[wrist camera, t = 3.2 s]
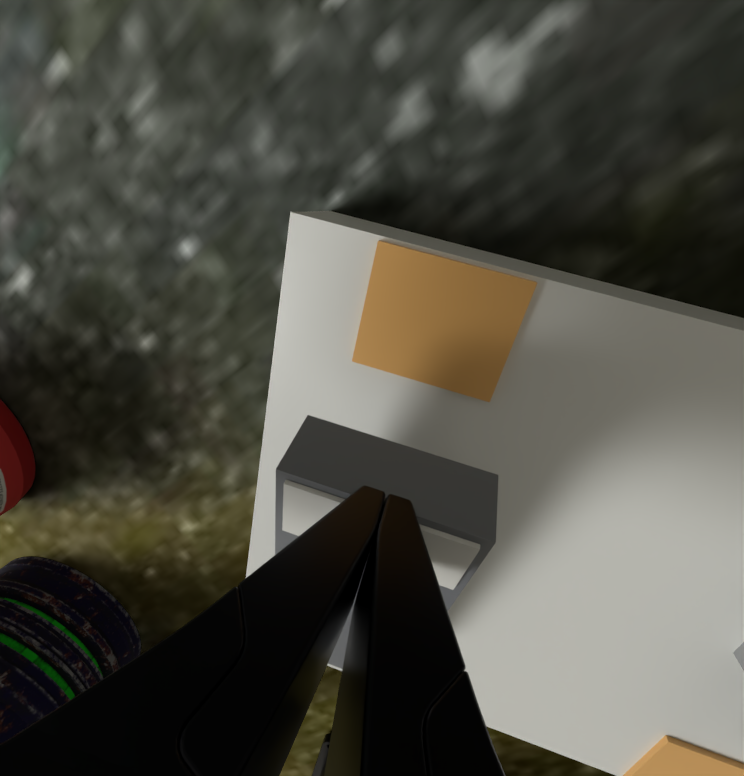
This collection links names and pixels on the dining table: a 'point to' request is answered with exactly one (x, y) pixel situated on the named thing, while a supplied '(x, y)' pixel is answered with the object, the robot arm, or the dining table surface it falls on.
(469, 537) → the rocker
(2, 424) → the canned food
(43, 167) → the dining table surface
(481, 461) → the switch base
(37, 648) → the storage jar
